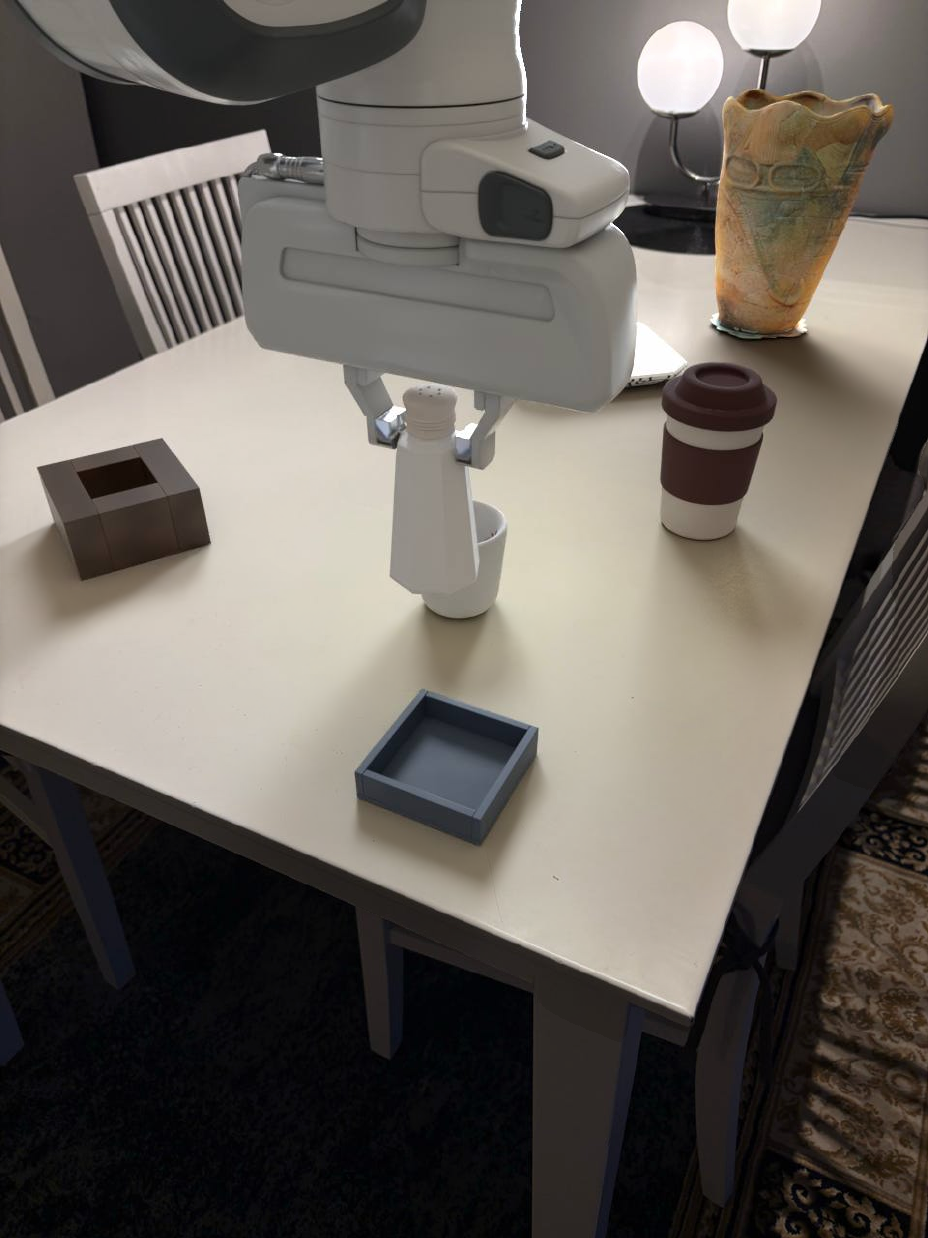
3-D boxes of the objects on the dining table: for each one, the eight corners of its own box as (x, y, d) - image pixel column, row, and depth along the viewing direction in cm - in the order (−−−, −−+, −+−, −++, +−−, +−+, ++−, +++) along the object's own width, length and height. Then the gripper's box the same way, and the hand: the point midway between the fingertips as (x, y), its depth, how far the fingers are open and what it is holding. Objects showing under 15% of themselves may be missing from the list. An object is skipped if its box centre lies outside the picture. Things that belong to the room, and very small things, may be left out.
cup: (408, 561, 84) (404, 484, 79) (494, 555, 84) (495, 478, 80) (416, 632, 75) (412, 551, 70) (511, 625, 76) (514, 544, 71)
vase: (869, 341, 128) (935, 97, 110) (744, 358, 123) (792, 105, 105) (782, 295, 144) (827, 76, 126) (668, 309, 139) (698, 83, 121)
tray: (356, 797, 61) (353, 771, 59) (422, 713, 67) (421, 688, 66) (480, 847, 58) (480, 820, 56) (537, 753, 64) (538, 727, 63)
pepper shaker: (370, 582, 52) (355, 401, 46) (418, 537, 56) (410, 364, 49) (454, 607, 50) (451, 422, 43) (497, 559, 54) (500, 382, 47)
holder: (81, 580, 81) (62, 522, 78) (54, 521, 90) (36, 466, 86) (211, 543, 86) (199, 487, 83) (174, 490, 95) (162, 437, 91)
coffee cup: (676, 487, 95) (698, 346, 86) (766, 518, 90) (799, 372, 80) (626, 526, 88) (644, 378, 79) (720, 561, 83) (750, 408, 74)
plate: (696, 386, 115) (699, 370, 114) (540, 403, 112) (541, 385, 110) (635, 331, 131) (637, 316, 130) (497, 343, 128) (497, 328, 126)
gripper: (191, 160, 42) (237, 438, 50) (618, 207, 34) (589, 524, 43) (273, 138, 46) (303, 396, 54) (666, 175, 39) (631, 467, 47)
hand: (431, 453), depth 48 cm, fingers closed on pepper shaker, 4 cm apart
